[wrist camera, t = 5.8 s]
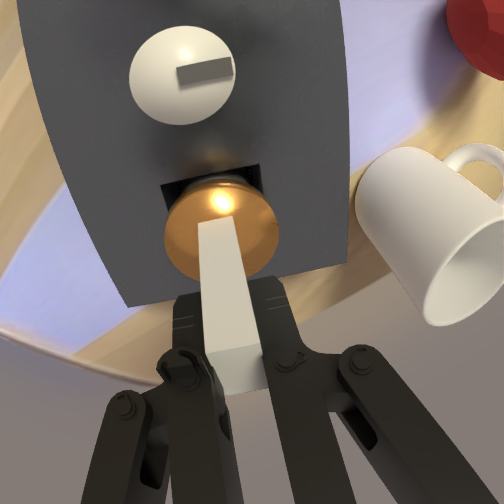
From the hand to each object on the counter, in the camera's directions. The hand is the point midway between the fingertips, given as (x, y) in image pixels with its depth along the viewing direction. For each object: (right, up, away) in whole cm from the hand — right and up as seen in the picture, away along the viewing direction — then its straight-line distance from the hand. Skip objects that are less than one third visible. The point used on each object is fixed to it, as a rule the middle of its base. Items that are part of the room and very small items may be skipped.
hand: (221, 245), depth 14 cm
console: (-2, +10, +1) cm, 11 cm away
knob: (-1, +4, +6) cm, 7 cm away
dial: (-1, +7, -3) cm, 8 cm away
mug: (+14, +6, +8) cm, 17 cm away
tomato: (+17, +17, 0) cm, 24 cm away
